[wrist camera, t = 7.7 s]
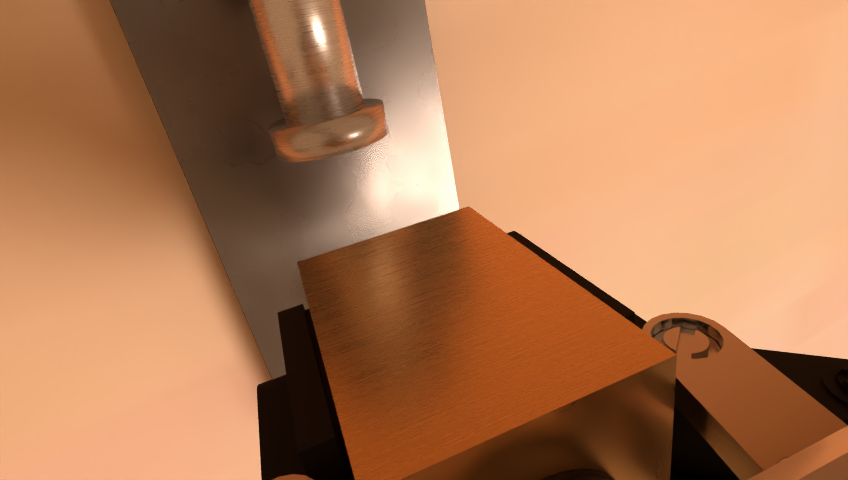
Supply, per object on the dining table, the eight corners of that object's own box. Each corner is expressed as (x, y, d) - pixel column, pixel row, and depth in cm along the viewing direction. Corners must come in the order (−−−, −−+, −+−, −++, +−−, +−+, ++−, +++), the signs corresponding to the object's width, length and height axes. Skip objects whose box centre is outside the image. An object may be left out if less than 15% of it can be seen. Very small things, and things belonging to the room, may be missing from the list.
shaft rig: (85, -82, 13) (-12, -159, 8) (387, -124, 16) (465, -208, 10) (298, 425, 22) (318, 546, 17) (473, 354, 24) (539, 442, 19)
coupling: (296, 261, 10) (380, 573, 4) (468, 206, 11) (736, 396, 5) (349, 413, 12) (458, 775, 6) (492, 355, 13) (707, 621, 7)
